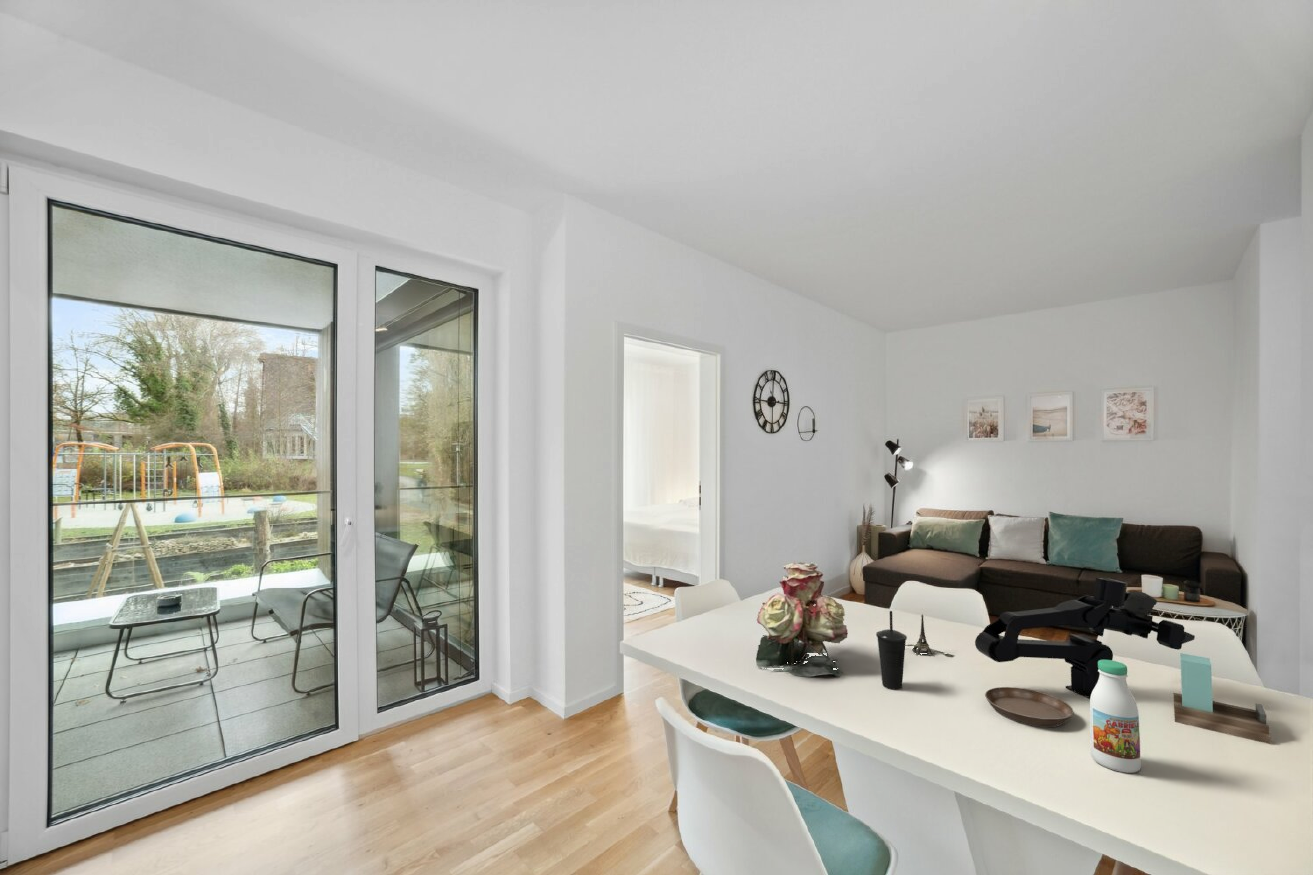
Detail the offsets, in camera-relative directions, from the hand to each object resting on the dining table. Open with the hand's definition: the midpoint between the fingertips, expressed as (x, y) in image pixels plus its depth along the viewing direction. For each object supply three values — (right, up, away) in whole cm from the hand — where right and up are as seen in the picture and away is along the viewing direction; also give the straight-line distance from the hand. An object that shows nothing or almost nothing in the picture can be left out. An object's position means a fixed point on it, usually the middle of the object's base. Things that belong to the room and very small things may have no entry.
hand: (1177, 631), depth 145 cm
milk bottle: (-44, -15, -34) cm, 58 cm away
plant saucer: (-47, -16, -12) cm, 51 cm away
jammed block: (-9, -14, -14) cm, 22 cm away
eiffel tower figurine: (-52, -18, +29) cm, 62 cm away
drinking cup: (-73, -16, +4) cm, 75 cm away
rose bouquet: (-92, -17, +21) cm, 96 cm away
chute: (-6, -15, -17) cm, 23 cm away
